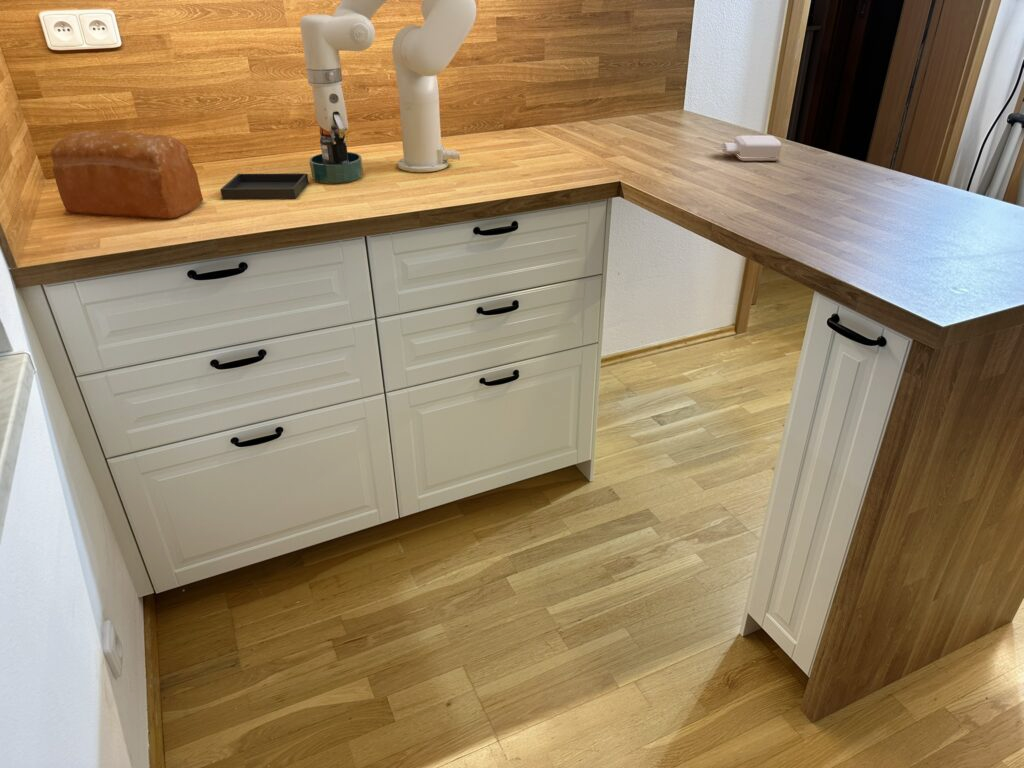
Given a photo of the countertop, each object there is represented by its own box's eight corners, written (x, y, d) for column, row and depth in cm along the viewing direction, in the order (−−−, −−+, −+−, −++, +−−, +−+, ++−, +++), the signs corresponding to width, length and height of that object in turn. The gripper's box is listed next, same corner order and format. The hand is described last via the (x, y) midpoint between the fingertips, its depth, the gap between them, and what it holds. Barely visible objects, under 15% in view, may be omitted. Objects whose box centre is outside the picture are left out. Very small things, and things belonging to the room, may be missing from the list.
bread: (102, 195, 164) (79, 122, 155) (209, 201, 160) (192, 127, 151) (59, 215, 152) (32, 137, 144) (173, 222, 148) (153, 143, 140)
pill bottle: (353, 172, 177) (347, 123, 171) (346, 179, 172) (340, 129, 166) (329, 171, 177) (322, 123, 171) (321, 178, 172) (314, 129, 166)
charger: (710, 152, 192) (768, 152, 192) (718, 162, 184) (778, 162, 184) (713, 134, 190) (771, 134, 190) (721, 143, 182) (782, 143, 182)
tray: (308, 182, 171) (307, 173, 170) (295, 198, 161) (294, 189, 160) (239, 182, 171) (237, 173, 170) (222, 199, 161) (220, 189, 160)
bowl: (367, 170, 180) (365, 151, 177) (358, 184, 170) (356, 165, 167) (318, 170, 180) (315, 151, 177) (306, 184, 170) (303, 165, 167)
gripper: (354, 81, 158) (363, 163, 167) (328, 69, 171) (338, 147, 180) (320, 84, 155) (331, 168, 164) (297, 72, 168) (308, 151, 177)
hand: (334, 156), depth 172 cm, fingers open, 7 cm apart
